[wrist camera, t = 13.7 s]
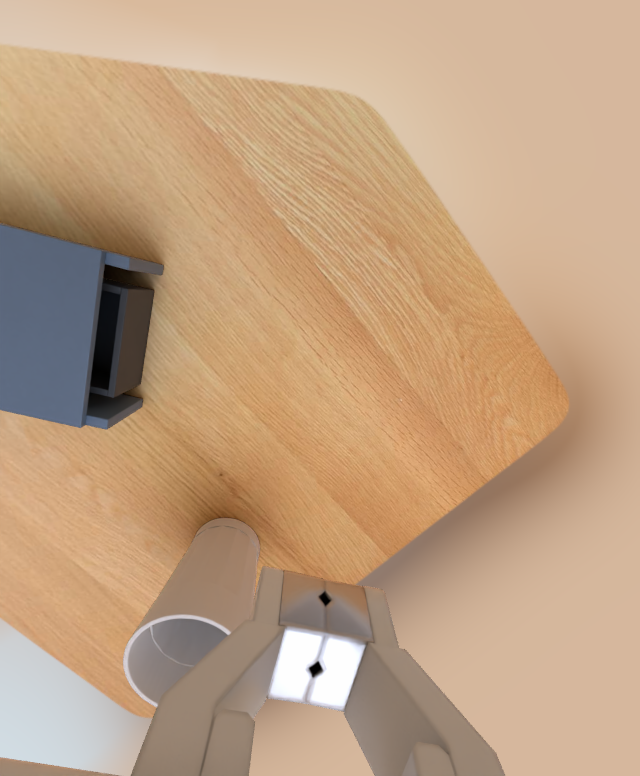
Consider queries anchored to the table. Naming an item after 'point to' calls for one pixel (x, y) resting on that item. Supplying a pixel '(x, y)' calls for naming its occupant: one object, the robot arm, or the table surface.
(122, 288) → the basket
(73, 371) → the cubby shelf
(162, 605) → the cup
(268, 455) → the table surface
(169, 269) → the table surface
